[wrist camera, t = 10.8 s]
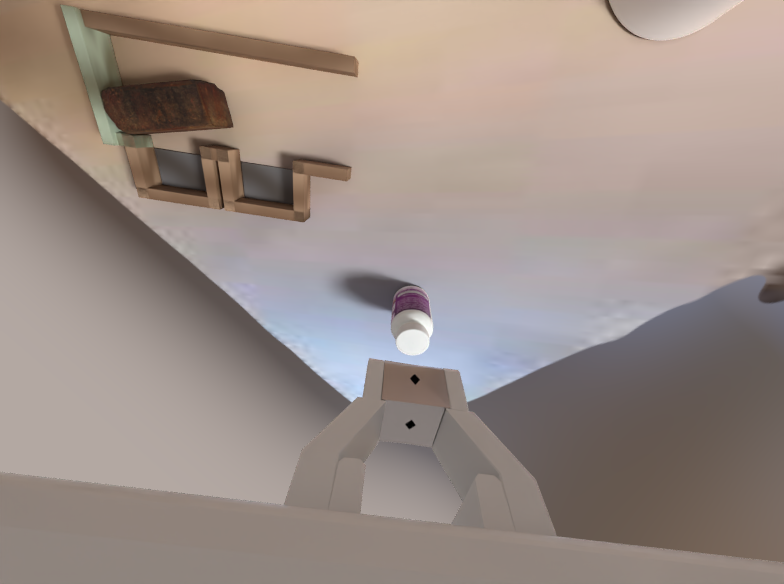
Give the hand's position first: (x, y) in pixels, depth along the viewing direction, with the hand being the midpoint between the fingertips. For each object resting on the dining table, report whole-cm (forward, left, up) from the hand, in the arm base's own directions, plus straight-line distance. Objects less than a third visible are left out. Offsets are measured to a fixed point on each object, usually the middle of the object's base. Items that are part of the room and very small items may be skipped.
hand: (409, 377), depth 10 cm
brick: (-6, -26, -30) cm, 40 cm away
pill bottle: (+14, +3, -29) cm, 33 cm away
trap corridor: (-4, -20, -29) cm, 36 cm away
